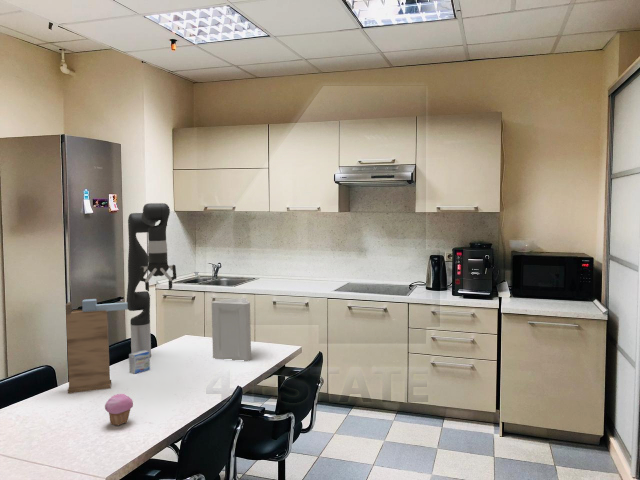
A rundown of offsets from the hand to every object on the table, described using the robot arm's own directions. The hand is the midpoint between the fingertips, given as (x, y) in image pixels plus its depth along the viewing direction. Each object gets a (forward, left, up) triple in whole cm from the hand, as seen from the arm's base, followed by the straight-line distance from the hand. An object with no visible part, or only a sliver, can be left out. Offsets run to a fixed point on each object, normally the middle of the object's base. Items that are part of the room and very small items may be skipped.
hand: (158, 290), depth 207 cm
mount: (-8, -28, -40) cm, 50 cm away
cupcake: (+34, -16, -40) cm, 55 cm away
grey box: (-31, +37, -40) cm, 63 cm away
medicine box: (-24, -9, -41) cm, 48 cm away
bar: (-8, -21, -8) cm, 24 cm away
